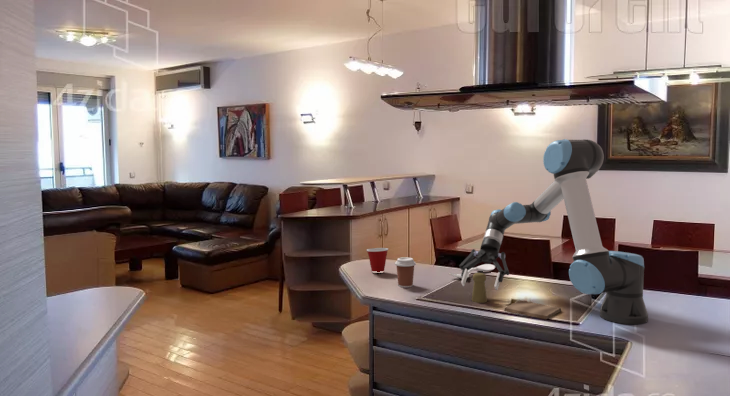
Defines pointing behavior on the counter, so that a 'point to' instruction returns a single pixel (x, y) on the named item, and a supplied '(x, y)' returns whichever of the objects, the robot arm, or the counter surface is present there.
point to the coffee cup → (405, 271)
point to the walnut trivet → (532, 309)
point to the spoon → (481, 268)
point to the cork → (479, 288)
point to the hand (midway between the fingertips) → (478, 286)
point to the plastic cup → (377, 258)
